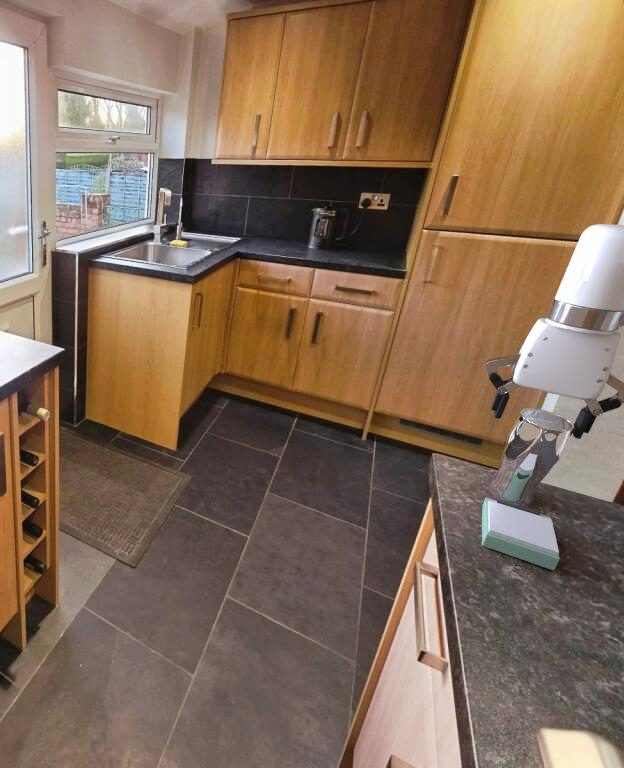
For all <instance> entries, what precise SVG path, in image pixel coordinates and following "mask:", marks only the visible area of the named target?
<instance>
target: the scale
mask: <svg viewBox="0 0 624 768" xmlns="http://www.w3.org/2000/svg"><path fill="white" fill-rule="evenodd" d="M481 510H482V513H481V545H482V547H484V548H488V549H489V550H490V549H491V550H494V551H496V552H499V553H501V554H505V555H507V556H509V557H510V556H511V557H514V558H517V559H519V560H521V561H522V560H523V561H524V562H528V563H531V564H533V565H535V566H539V567H542V568H545V569H548V570H550V571H555V570H556V569H557V566H558V564H559V562H560V559H561V558H560V549H559V546H558V542H557V537H556V532H555V528H554V523H553V519H552V518H551V516H548V515H544V514H542V513H541V512H540V511H536V510H532V509H529V508H525V507H521V506H517V505H513V504H510V503H507V502H503V501H501V500H499V499H497V500H496V499H492V498H489V497H485V499H484V501H483V504H482V509H481Z"/></svg>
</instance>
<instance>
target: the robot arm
mask: <svg viewBox="0 0 624 768" xmlns="http://www.w3.org/2000/svg"><path fill="white" fill-rule="evenodd" d="M622 327H624V224H612V223H598V224H597V223H596V224H592V225H590V226H588V227H587V228H586V229H585V230H584V231H583V232H582V233H581V235H580V237H579V239H578V242H577V243H576V246H575V248H574V251H573V254H572V255H571V258H570V261H569V263H568V265H567V267H566V270H565V272H564V275H563V277H562V280H561V282H560V285H559V287H558V290H557V292H556V293H555V297H554V299H553V301H552V303H551V306H550V309H549V311H548V313H547V316H546V318H542V317H541V318H538V319H537V321H536V322H535V324H534V325H533V327H532V328H531V330H530V331H529V333H528V335H527V337H526V339H525V341H524V342H523V344H522V346H521V348H520V350H519V353H518V354H513V355H506V356H501V357H496V358H490V359H487V360H486V361H485V367H486V372H487V375H488V379H489V381H490V382H491V384H492V385H493V386H494V388H495V390H496V394H495V397H494V399H493V401H492V404H491V408H490V410H491V411H493V415H494V419H497V420H500V419H502V416H503V414H504V411H505V410H506V407H507V404H508V403H509V400H510V392H512V391H514V390H516V389H518V388H521V387H523V388H526V389H530V390H535V391H539V392H544V393H549V394H552V395H557V396H562V397H566V398H571V399H576V400H581V401H584V402H585V405H586V406H584V407H583V408H581V409H580V411H579V412H578V415H577V417H576V419H575V421H574V422H573V424H574V425H575V429H574V430H573V433H572V436H573V437H574V438H575V439H578V440H581V439H582V437H583V435H584V434H589V433H590V431H591V429H592V427H593V426H594V423H595V421H596V419H597V418H598V417H599V416H602V415H603V414H604V413H607V412H611V411H613V410H616V409H620V408H621V406H622V405H623V404H624V381H623V380H622V379H620V378H619V377H617V376H616V375H614V374H613V373H611V372H612V368H613V366H614V363H615V360H616V357H617V354H618V350H619V346H620V343H621V337H622V336H621V332H620V331H619V330H620V328H622ZM511 366H512V368H511V373H510V374H511V376H509V377H507V378H505V379H503V377H501V376H500V374H499V371H498V370H499V368H504V367H511ZM606 385H608V386H610V387H611V388H612V389H614V390H615V391H617V392H616V393H615V394H613V395H612V396H610V397H607V398H603V399H601V400H598V398H599V397H600V396H601V395H602V393H603V391H604V389H605V387H606Z"/></svg>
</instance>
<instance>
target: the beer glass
mask: <svg viewBox="0 0 624 768" xmlns="http://www.w3.org/2000/svg"><path fill="white" fill-rule="evenodd" d="M574 429H575V425H574V422H573V421H571V420H570V419H569V418H566V417H565V416H563V415H560V414H559V413H556V412H553V411H549V410H546V409H541V408H534V407H533V408H532V407H531V408H530V407H528V408H523V409H521V410H520V411H519V413H518V415H517V416H516V418H515V419H514V422H513V424H512V425H511V427H510V428H509V431H508V433H507V435H506V437H505V440H504V443H503V448H502V452H501V457H500V462H499V466H498V470H497V472H496V474H495V476H494V478H493V479H492V480H491V482H489V484H488V485H487V490H488V492H489V493H490V495H492V496H493V497H494V498H495V499H497V500H500V501H503V502H507V503H510V504H513V505H517V506H520V507H523V508H525V507H530V506H532V505H533V502H534V497H535V493H536V491H537V488H538V487H539V485H540V484H541V483H542V481H543V480H544V479H545V478H546V477H547V476H548V475H549V473H550V472H551V471H552V470H553V469H555V467H556V465H557V464H558V462H559V461H560V460H561V458H562V457H563V455H564V454H565V452H566V449H567V447H568V446H569V443H570V440H571V437H572V436H573V430H574Z"/></svg>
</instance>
